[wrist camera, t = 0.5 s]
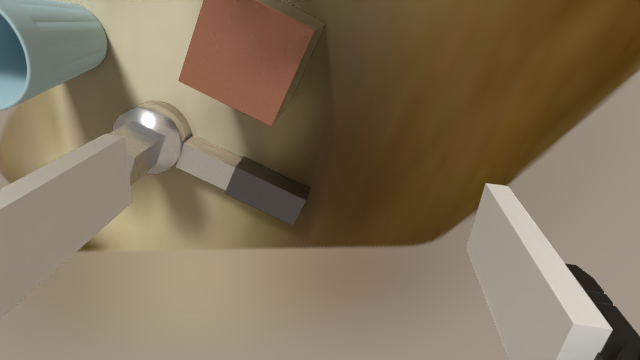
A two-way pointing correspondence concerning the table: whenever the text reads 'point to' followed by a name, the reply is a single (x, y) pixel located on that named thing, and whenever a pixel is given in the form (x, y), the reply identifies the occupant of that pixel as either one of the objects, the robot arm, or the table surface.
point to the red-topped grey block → (250, 54)
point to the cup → (45, 46)
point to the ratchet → (203, 160)
